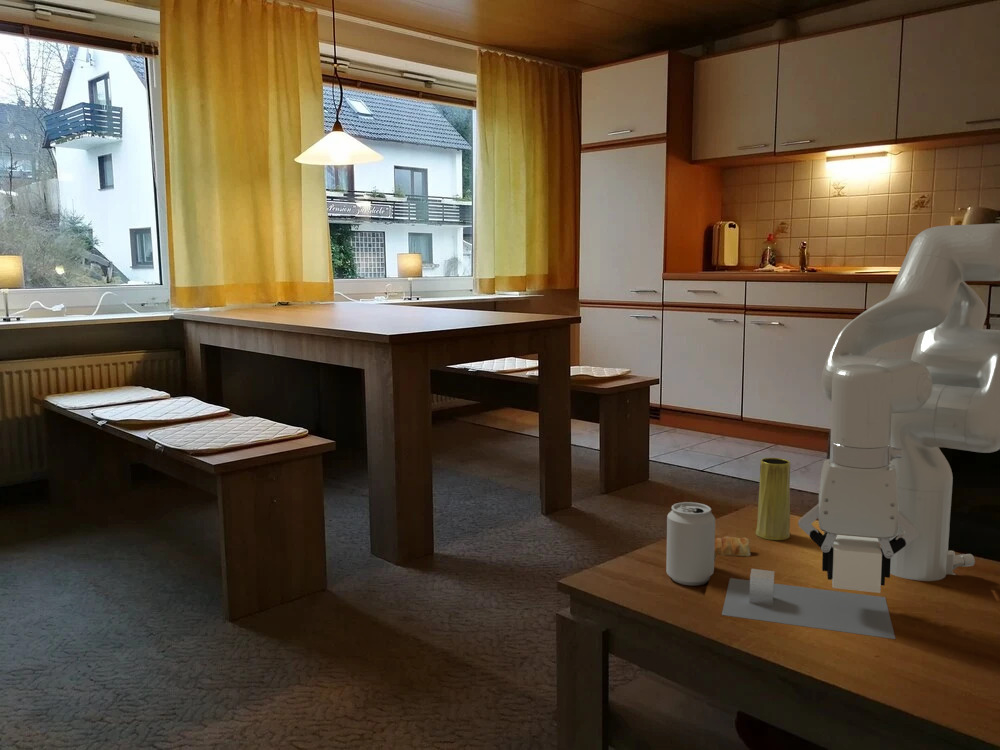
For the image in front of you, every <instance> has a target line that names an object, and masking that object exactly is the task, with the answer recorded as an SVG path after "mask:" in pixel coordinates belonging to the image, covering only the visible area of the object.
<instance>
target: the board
mask: <svg viewBox="0 0 1000 750" xmlns="http://www.w3.org/2000/svg"><path fill="white" fill-rule="evenodd" d="M749 596H750V579H749V580H748V579H740V578H734V577H731V578H730V577H729V581H728V586H727V590H726V594H725V599H724V604H723V607H722V611H721V616H725V617H733V618H740V619H746V620H747V619H748V620H755V621H763V622H770V623H777V624H784V625H791V626H797V627H805V628H811V629H818V630H826V631H827V630H828V631H833V632H834V631H835V632H839V633H840V632H841V633H847V634H856V635H862V636H863V635H864V636H868V637H869V636H870V637H875V638H876V637H877V638H883V639H890V640H891V639H892V640H896V635H895V631H894V628H893V623H892V619H891V616H890V615H891V614H890V611H889V607H888V604H887V600H886V597H885V596H878V595H870V594H862V593H855V592H854V593H852V592H846V591H845V592H844V591H838V590H831V589H822V588H814V587H813V588H812V587H806V586H797V585H789V584H782V583H781V584H780V583H774V591H773V606H770V605H762V604H755V603H749Z"/></svg>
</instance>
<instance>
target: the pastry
mask: <svg viewBox="0 0 1000 750" xmlns="http://www.w3.org/2000/svg"><path fill="white" fill-rule="evenodd" d="M717 555H721V556H733V557H750V556H751V549H750V539H749V538H748V537H744V536H743V538H740V537H735V536H724V537H723V536H722V537H716V538H715V549H714V562H715V561H716V559H717Z"/></svg>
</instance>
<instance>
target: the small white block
mask: <svg viewBox="0 0 1000 750" xmlns="http://www.w3.org/2000/svg"><path fill="white" fill-rule="evenodd" d="M749 580H750V596H749V603H755V604H762V605H770V606H773V591H774V584H775V571H774V570H766V569H759V568H758V569H757V568H751V570H750V575H749Z"/></svg>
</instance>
